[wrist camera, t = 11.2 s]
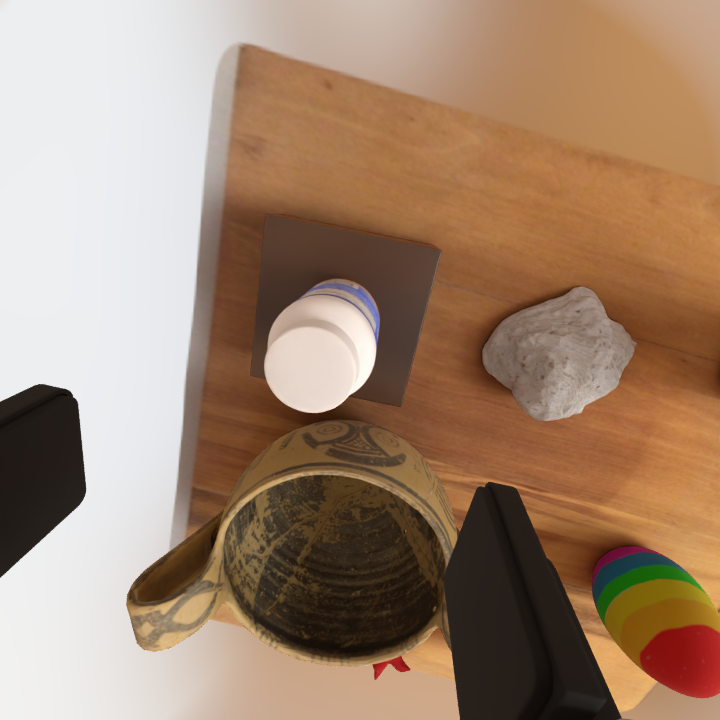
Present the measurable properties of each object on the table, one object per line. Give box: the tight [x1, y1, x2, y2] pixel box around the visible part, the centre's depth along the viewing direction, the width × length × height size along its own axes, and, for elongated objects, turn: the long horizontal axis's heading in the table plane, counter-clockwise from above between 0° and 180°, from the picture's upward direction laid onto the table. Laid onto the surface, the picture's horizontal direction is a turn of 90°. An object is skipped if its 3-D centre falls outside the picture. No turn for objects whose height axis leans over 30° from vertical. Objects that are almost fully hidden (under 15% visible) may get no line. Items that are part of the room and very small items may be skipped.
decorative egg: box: [592, 546, 720, 698], centre depth 31 cm, size 8×8×10 cm
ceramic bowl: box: [126, 420, 460, 667], centre depth 27 cm, size 22×17×15 cm
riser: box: [250, 214, 442, 407], centre depth 27 cm, size 11×11×4 cm
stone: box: [482, 287, 637, 421], centre depth 27 cm, size 10×5×10 cm
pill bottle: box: [264, 279, 380, 413], centre depth 21 cm, size 5×5×10 cm
